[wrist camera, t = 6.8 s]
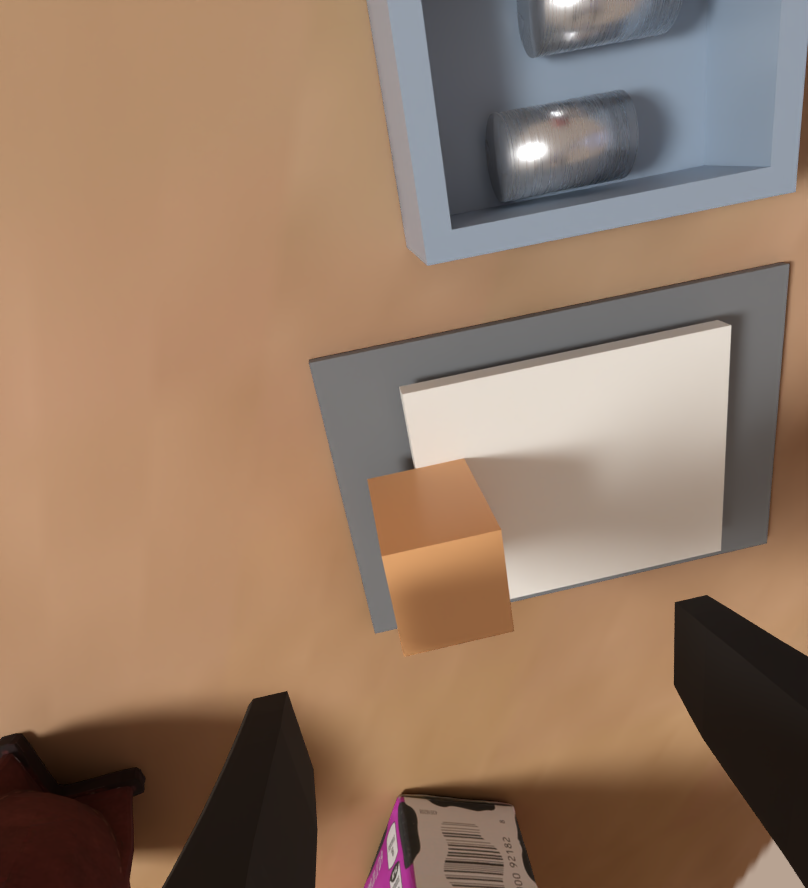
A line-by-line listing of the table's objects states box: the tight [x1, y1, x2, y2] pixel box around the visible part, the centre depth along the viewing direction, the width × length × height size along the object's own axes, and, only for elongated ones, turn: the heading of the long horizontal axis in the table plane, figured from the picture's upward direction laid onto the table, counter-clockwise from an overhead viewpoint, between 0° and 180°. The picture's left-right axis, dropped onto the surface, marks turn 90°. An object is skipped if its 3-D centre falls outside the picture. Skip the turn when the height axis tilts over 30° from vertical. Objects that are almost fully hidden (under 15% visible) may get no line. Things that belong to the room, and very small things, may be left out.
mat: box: [309, 262, 790, 633], centre depth 19 cm, size 13×9×1 cm
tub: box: [367, 0, 808, 266], centre depth 13 cm, size 8×6×3 cm
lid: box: [367, 320, 731, 657], centre depth 17 cm, size 10×7×5 cm
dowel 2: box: [486, 90, 639, 202], centre depth 14 cm, size 3×2×2 cm, turn 100°
